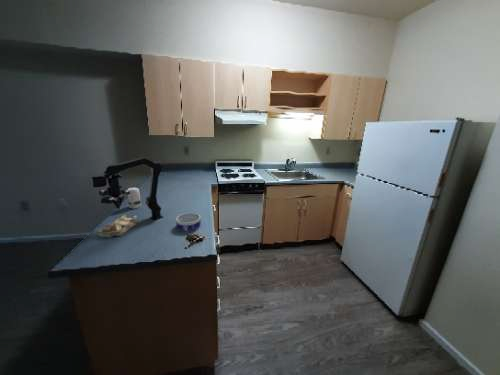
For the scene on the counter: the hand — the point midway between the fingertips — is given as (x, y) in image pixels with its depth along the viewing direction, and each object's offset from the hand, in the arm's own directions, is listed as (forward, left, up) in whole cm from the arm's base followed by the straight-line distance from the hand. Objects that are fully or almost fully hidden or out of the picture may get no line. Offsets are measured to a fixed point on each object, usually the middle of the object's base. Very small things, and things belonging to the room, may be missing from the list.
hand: (118, 208), depth 135 cm
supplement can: (+24, -21, -12) cm, 34 cm away
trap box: (-3, +1, -12) cm, 12 cm away
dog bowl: (-33, -28, -12) cm, 45 cm away
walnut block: (-5, +8, -11) cm, 15 cm away
